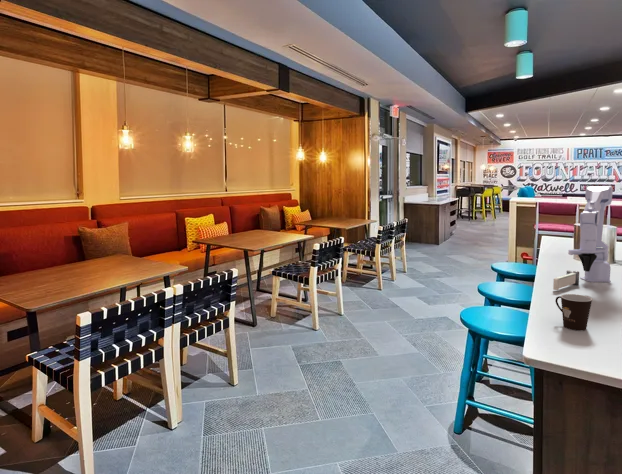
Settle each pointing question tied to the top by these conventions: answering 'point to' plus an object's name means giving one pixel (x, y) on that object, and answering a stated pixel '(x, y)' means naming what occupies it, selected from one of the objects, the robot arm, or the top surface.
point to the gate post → (576, 276)
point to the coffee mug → (575, 310)
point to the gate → (564, 281)
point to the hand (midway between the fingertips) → (586, 271)
